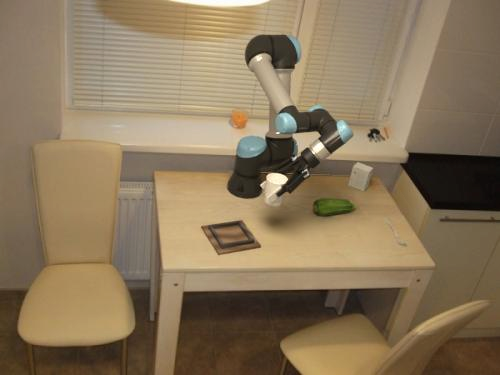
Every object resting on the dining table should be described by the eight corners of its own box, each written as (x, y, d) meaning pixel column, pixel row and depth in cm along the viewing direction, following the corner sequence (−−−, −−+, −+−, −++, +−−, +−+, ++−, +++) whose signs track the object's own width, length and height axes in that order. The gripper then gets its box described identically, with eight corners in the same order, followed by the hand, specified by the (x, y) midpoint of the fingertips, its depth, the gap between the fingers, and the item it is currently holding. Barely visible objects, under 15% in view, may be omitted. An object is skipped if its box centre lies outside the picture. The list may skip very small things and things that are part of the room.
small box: (368, 187, 251) (374, 167, 245) (363, 192, 247) (369, 172, 241) (352, 181, 254) (357, 161, 249) (347, 185, 250) (353, 165, 244)
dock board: (201, 227, 204) (201, 222, 203) (241, 221, 212) (242, 216, 211) (218, 255, 192) (219, 249, 191) (260, 247, 199) (261, 242, 198)
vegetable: (315, 195, 221) (356, 192, 229) (308, 204, 227) (349, 200, 234) (320, 210, 218) (362, 207, 225) (313, 219, 223) (354, 215, 231)
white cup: (259, 196, 203) (263, 173, 198) (278, 195, 206) (282, 172, 201) (267, 208, 197) (271, 184, 192) (286, 206, 200) (291, 183, 195)
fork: (385, 213, 234) (386, 210, 233) (407, 248, 214) (408, 244, 213) (378, 213, 233) (379, 209, 232) (399, 248, 213) (400, 244, 212)
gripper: (331, 174, 189) (280, 215, 193) (309, 147, 206) (263, 185, 209) (320, 161, 185) (268, 203, 188) (299, 134, 202) (252, 173, 205)
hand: (265, 193), depth 199 cm, fingers closed on white cup, 8 cm apart
